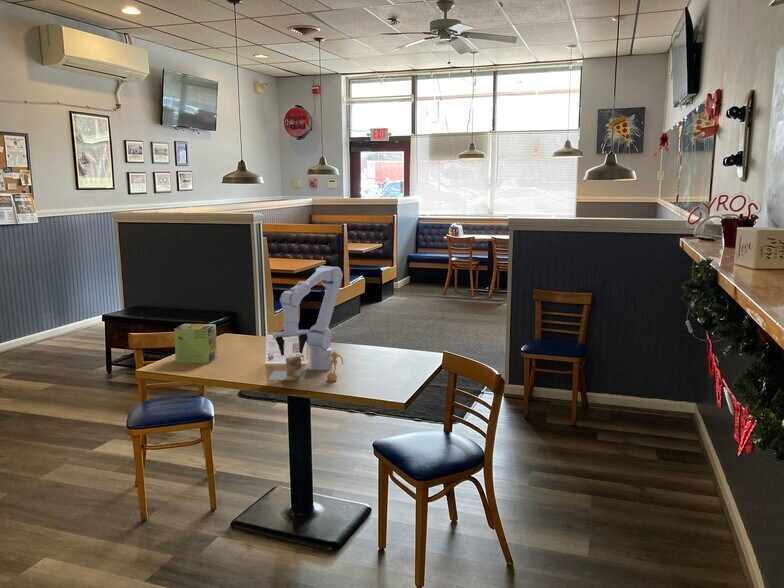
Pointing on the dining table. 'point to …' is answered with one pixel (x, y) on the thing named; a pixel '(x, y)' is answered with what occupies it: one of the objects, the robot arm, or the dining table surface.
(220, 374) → the dining table surface
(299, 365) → the walnut block
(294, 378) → the oak block
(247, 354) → the dining table surface
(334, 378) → the figurine
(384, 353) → the dining table surface
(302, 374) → the mat
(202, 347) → the protein box
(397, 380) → the dining table surface
